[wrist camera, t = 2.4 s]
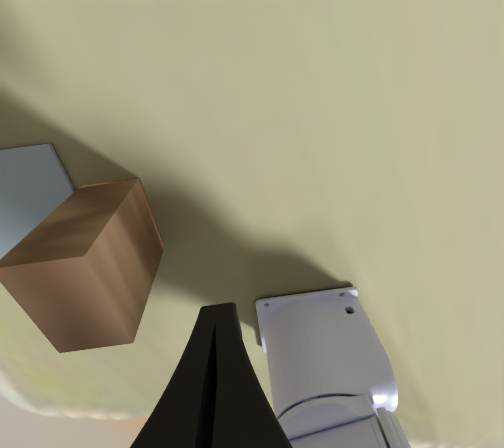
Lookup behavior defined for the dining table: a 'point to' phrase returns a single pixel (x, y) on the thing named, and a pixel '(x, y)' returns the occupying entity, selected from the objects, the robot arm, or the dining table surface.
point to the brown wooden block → (88, 267)
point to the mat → (29, 190)
